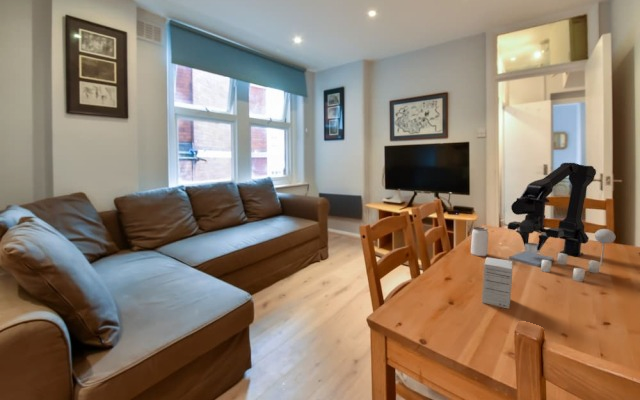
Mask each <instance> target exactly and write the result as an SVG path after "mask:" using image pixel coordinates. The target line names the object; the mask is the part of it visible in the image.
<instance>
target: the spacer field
mask: <svg viewBox="0 0 640 400" xmlns="http://www.w3.org/2000/svg"><path fill="white" fill-rule="evenodd" d="M568 256H569V255H568V254H563V253H560V252H559V253H557V260H556V263H557V265H562V266H566V265H567V261H568ZM600 262H601V261H598V260H593V259H590V260H588V267H587V268H588V270H587V271H588V272H590V273H593V274H599V273H600V268H601V267H600V266H601V265H600ZM551 269H552V261H550V260H542V263H541V266H540V271H541V272H544V273H550V272H551ZM585 271H586V270H585V269H584V268H580V267H574V268H573V272H572V280H573V281H576V282H581V283H582V282H584V280H585V273H586V272H585Z"/></svg>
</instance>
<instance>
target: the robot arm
mask: <svg viewBox="0 0 640 400" xmlns="http://www.w3.org/2000/svg"><path fill="white" fill-rule="evenodd" d="M596 175H597V170H596V168H594V166H593V165H583V164H578V163H576V162H562V163H561V164H560V165H559V167H557V168H555V169H554V170H553V171H552V172H550V173H549V174H547V175H546V176H544V177H543V178H541V179H538V180H534V181H532V182H529V183H528V185H527V186H526V188H525V189H524V190H523V193H522V194H521V196H520V197H517V198H516V200H515V201H514V202H513V203H512V205H511V207H510V208H511V211H512V213H513V214H515V215H517V216H519V215H520V216H521V215H525V216H524V219H523V220H522V221H510V222H509V223H508V224H507V229H508V230H512V231H515V232H516V233H518V234H519V235H520V237H521V240H522V242H523V244H524V247H525V243H529V239H530V234H533V233H534V232H535V233H541V234H539V235H538V243H537V244H538V250H541V249H543V246H544V244H545V243H546V241H548V240H549V238H554V239H561V240H564V245H563V250H561V251H559V253H563V254H567V255H568V256H572V257H577V258H579V257H580V256H583V255H584V252H581V250H582V244H587V243H588V242H589V239H590V238H589V236H588V234H587V233H586V232H585V224H584V223H583V222H584V221H582V216H583V215H582V214H583V210H584V204H585V200H586V199H585V198H586V194H587V189H588V186H590V185H591V184H592V183H593V182H594V180H595V177H596ZM567 177H568V180H569V182H570V184H571V188H570V189H571V190H570V194H569V201H568V205H567V211H566V217H565V218H564V219H563V220H560V221H559V222H558V228H557V227H556V228H555V227H551V228H545V224H544V220H545V219H546V215H545V212H546V210H545V209H546V203H549V202H550V200H549V199H548V198H547V197H549V195H550V194H551V193H553V191H554V187H555V186H557V185H558V184H560V182H562V181H564V179H566V178H567Z"/></svg>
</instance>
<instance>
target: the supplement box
mask: <svg viewBox="0 0 640 400" xmlns="http://www.w3.org/2000/svg"><path fill="white" fill-rule="evenodd" d="M513 264H514V263H513V260H508V259H501V258H494V257H486V258H485V261H484V265H483V266H484V267H483V279H482V280H483V281H482V296H481V302H482V303H483V304H486V305H487V304H488V305H491V306H495V307H500V308H505V309H510V305H511V298H512V297H511V295H512V284H513V268H514V267H513V266H514V265H513Z"/></svg>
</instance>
